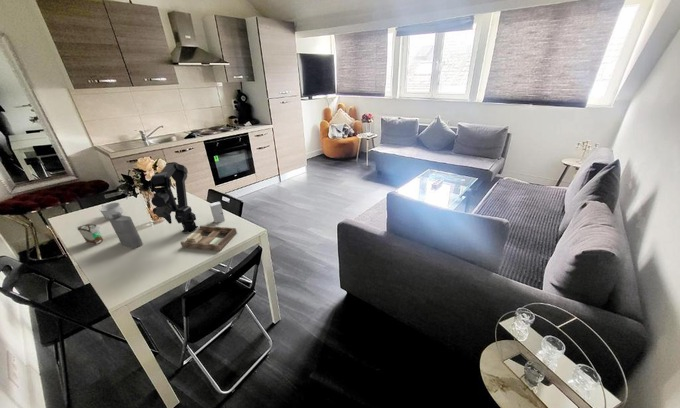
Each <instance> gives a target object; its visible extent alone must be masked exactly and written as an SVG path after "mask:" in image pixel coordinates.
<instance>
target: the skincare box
mask: <svg viewBox="0 0 680 408" xmlns="http://www.w3.org/2000/svg"><path fill="white" fill-rule="evenodd" d="M209 206H210V211H211V214H212V217H213V221H214V223H215V224H217V223H221V222H225V221H226V219H225V215H224V212H223V207H222V203H221V201H216V202H212V203H209Z"/></svg>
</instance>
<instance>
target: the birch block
mask: <svg viewBox="0 0 680 408" xmlns="http://www.w3.org/2000/svg"><path fill="white" fill-rule="evenodd" d="M200 239H202V236H201V234H200V233H196V232H191V233H190V235H188V236H187V237H186V240H187V241H188V242H195V243H197V242H198V241H199V240H200Z"/></svg>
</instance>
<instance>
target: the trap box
mask: <svg viewBox="0 0 680 408" xmlns="http://www.w3.org/2000/svg"><path fill="white" fill-rule="evenodd" d="M195 233H200V234H201V236H202V239H200V240H199V241H198V242H197V243H195V242H188V241H187V239H186V240H185V241H183V240H181V241H180V246H181V248H183V249H192V250H193V249H194V250H202V251H203V250H204V251H213V252H222V250H223V249H224V248H225V247H226V246H227V245H228V244H229V243H230V242H231V241H232V240H233V238H234V237H235V236H236V235H237V234H238V231H237V228H236V227H235V228H234V227H224V226H212V225H211V226H210V225H200V226H199V229H198V230H197V231H195Z"/></svg>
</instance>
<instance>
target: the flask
mask: <svg viewBox="0 0 680 408" xmlns="http://www.w3.org/2000/svg"><path fill="white" fill-rule="evenodd" d="M107 219H108V221H109V222H110V224H111V226H112V229H113V231H114V233H116V234H115V235H116V236H117V238H118V240H119V243H120V244H121V245H122V246H124V247H126V248H131V249H136V248H141V246H143V245H144V243H143V240H142V238H141V237H140V234H139V232H138V229H137V228H136V226H135V223H134V222H133V220H132V217H131V216H130V215H129V216H128V215H122V214H120V212H115V213H113V214H111V215H109V216H108V218H107Z"/></svg>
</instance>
